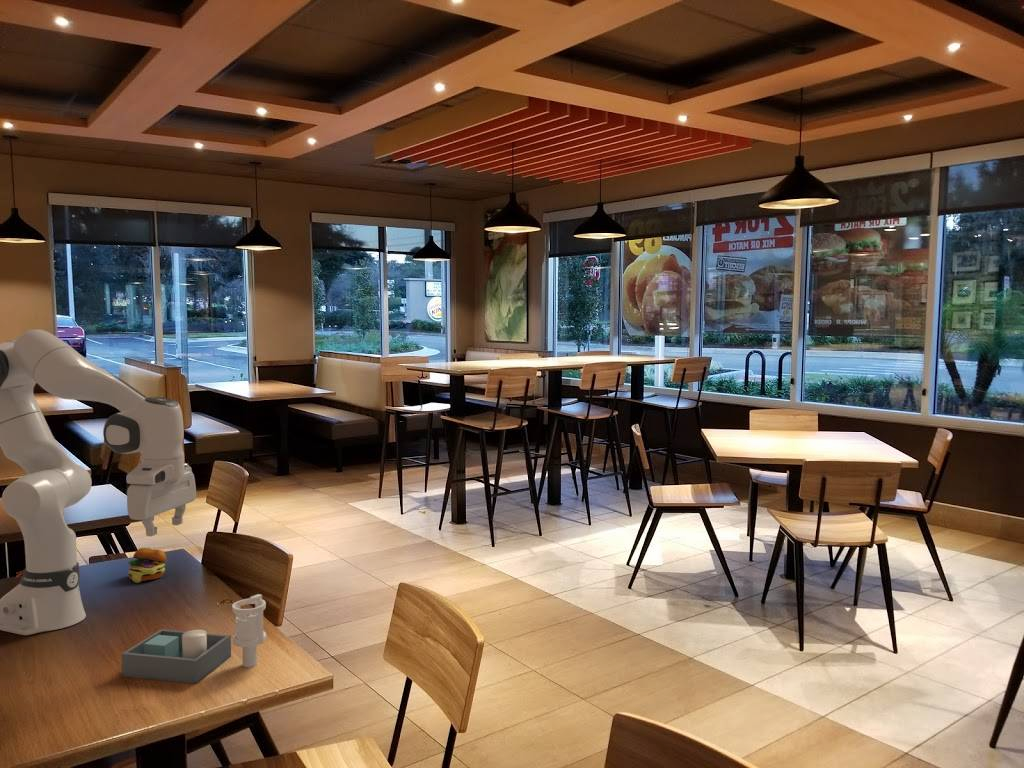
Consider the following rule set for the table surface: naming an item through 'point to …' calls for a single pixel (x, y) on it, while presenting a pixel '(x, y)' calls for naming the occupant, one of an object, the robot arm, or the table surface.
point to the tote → (176, 660)
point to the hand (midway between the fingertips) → (164, 529)
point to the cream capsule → (194, 643)
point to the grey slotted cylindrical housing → (249, 628)
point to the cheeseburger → (147, 564)
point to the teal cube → (162, 646)
